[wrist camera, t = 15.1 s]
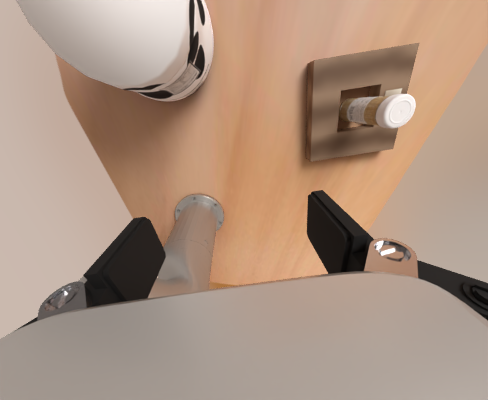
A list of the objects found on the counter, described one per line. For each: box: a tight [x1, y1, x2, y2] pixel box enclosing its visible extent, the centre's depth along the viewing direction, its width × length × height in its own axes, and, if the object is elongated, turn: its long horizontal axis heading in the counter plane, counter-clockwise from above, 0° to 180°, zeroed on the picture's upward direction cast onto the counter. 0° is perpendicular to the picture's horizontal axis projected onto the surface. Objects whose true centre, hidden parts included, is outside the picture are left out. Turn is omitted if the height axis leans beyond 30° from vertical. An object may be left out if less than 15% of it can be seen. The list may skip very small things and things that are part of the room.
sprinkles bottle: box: [339, 94, 416, 128], centre depth 32 cm, size 5×5×13 cm
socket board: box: [306, 43, 419, 162], centre depth 36 cm, size 18×18×3 cm
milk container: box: [16, 0, 214, 101], centre depth 23 cm, size 17×17×18 cm
